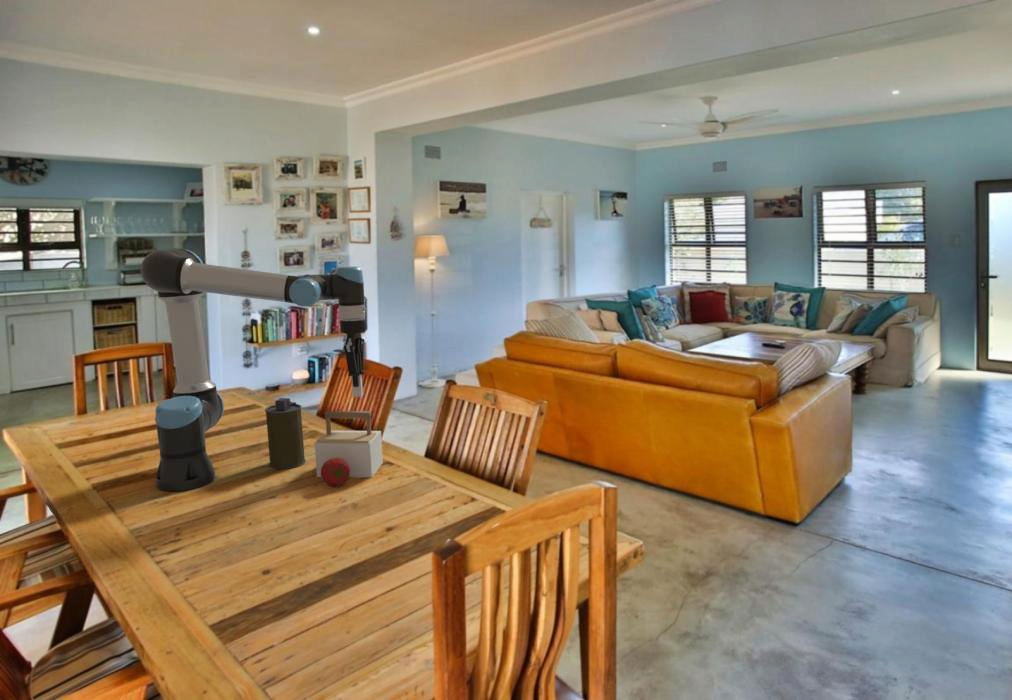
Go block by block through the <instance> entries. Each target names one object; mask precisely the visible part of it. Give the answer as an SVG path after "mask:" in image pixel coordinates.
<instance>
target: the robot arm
mask: <svg viewBox="0 0 1012 700" xmlns="http://www.w3.org/2000/svg"><path fill="white" fill-rule="evenodd" d="M140 276H141V279H142V280H143V281H144V283H145V285H147V286H148V287H149V288H151V289H152V290H154V291H157V296H158V299H159V300H161V301H162V302H163V303H164V304H165V309H166V316H167V322H168V329H169V337H170V342H171V348H172V353H173V360H174V361H173V362H174V365H175V366H174V367H175V374H176V381H177V385H176V386H175V387H174V388H173V391H172V392H173V397H171V398H168V399H165V400H163V401H160V403H159V404H157V406H156V408H155V411H154V412H155V417H154V422H155V425H156V426H155V427H156V433H157V440H158V448H159V455H160V456H159V457H160V459H159V464H158V467H157V471H156V476H155V485H156V488H157V489H158V490H160V491H163V492H183V491H189V490H194V489H197V488H201V487H203V486H206V485H208V484H210V483H212V482H214V480H215V479H216V469H215V467H214V465H213V463H212V462H211V459H210V457H209V455H208V453H207V446H206V438H205V435H206V434H205V433H207V432H208V431H209V430H210V429H212V428H213V427H215V426H216V425H217V424H218V423H219V421H220V420H221V418H222V416H223V414H224V410H225V404H224V400H223V398H222V396H221V395H220V394H219V393H218V390H217V385H216V383H215V382H213V381H212V380H211V379H210V374H209V368H208V361H207V360H208V359H207V352H206V347H205V345H206V344H205V341H204V340H205V339H204V331H203V325H202V318H201V313H200V305H199V299H201V297H202V295H203V294H204V293H209V294H217V295H226V296H233V297H240V298H247V299H248V298H249V299H257V300H265V301H272V302H273V301H275V302H281V303H288V304H294V305H297V306H299V307H311V306H313V305H315V304H316V303H317V302H320V301H331V300H332V301H333V300H335V301H336V300H337V301H338V318H339V319H340V321H339V325H340V326H339V327H340V333H342V334H346V339H345V345H343V350H344V353H345V359H346V365H347V372H348V373H347V374H348V377H351V386H352V387H351V389H352V398H362V397H363V396H364V391H363V390H364V389H363V375H365V371H364V370H365V369H364V368H365V367H364V365H365V364H364V361H365V358H364V354H365V352H364V351H365V350H364V349H365V339H364V338H363V337H362V333H365V332H367V321H366V319H365V318H366V311H367V310H368V309H367V307H365V306H366V305H365V287H364V286H365V285H364V283H365V282H364V278H363V277H364V275H363V270H362V268H361V267H360V266H339V267H337V268H336V271H335V273H331V274H303V275H289V274H282V273H281V274H280V273H277V272H276V273H275V272H274V273H273V272H267V271H259V270H252V269H245V268H236V267H229V266H222V265H216V264H215V265H213V264H206V263H204V262H203V261H202V259H201V258H200V256H198V254H196V253H195V252H194V251H192V250H188V249H184V248H170V249H169V248H167V249H157V250H154V251H151V252H150V253H148V254H147V255H146V256H145V257H144V258H143V260H142V261H141V265H140Z"/></svg>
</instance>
